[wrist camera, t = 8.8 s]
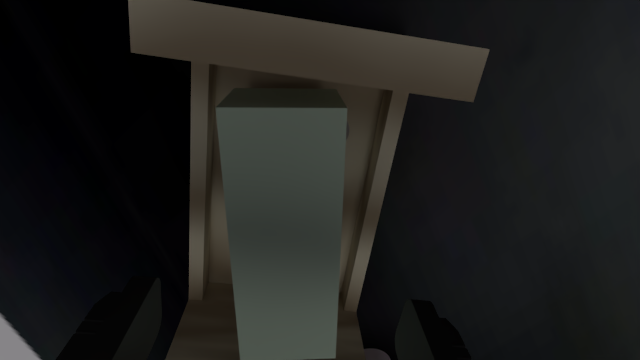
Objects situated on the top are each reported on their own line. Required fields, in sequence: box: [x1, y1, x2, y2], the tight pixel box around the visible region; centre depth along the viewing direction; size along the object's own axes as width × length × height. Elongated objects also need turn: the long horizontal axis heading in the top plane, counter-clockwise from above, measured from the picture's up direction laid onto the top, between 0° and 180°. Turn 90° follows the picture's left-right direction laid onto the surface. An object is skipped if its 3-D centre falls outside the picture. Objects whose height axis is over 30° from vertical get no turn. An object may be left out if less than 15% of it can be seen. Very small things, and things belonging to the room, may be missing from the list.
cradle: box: [128, 0, 490, 360], centre depth 18 cm, size 18×10×9 cm, turn 171°
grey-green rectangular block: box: [216, 88, 347, 360], centre depth 17 cm, size 12×4×4 cm, turn 179°
